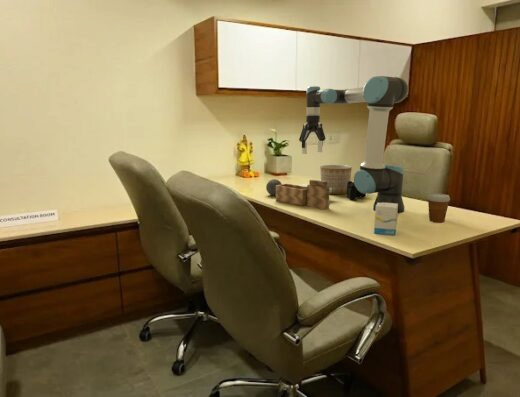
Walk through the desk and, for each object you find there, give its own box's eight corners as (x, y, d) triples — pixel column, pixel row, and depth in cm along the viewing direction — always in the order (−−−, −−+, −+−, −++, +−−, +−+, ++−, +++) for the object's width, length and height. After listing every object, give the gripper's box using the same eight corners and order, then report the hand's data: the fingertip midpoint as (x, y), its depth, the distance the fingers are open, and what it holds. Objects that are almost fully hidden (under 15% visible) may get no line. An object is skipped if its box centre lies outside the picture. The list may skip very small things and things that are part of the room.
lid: (331, 192, 227) (331, 188, 226) (319, 194, 220) (319, 190, 219) (304, 187, 242) (304, 183, 242) (292, 189, 235) (292, 185, 234)
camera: (367, 200, 224) (368, 183, 222) (348, 200, 226) (348, 183, 223) (363, 196, 238) (364, 179, 236) (345, 195, 239) (346, 179, 237)
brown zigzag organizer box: (332, 207, 208) (333, 186, 205) (321, 210, 202) (322, 188, 200) (286, 198, 232) (286, 179, 230) (275, 200, 226) (275, 181, 224)
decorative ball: (264, 196, 239) (264, 180, 237) (268, 193, 248) (268, 177, 246) (280, 197, 236) (280, 180, 234) (284, 194, 245) (284, 178, 243)
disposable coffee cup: (421, 221, 180) (423, 195, 177) (430, 217, 186) (432, 192, 184) (443, 225, 173) (445, 198, 171) (451, 221, 180) (454, 195, 177)
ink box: (395, 235, 159) (397, 207, 156) (373, 233, 162) (375, 205, 159) (396, 230, 166) (398, 203, 164) (375, 228, 169) (377, 201, 167)
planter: (317, 194, 244) (317, 168, 240) (322, 189, 262) (323, 164, 258) (348, 196, 238) (349, 169, 234) (352, 190, 255) (353, 165, 252)
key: (327, 186, 204) (327, 181, 204) (324, 186, 203) (324, 182, 202) (312, 184, 211) (312, 179, 211) (309, 184, 210) (309, 180, 209)
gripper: (321, 115, 233) (321, 151, 237) (292, 115, 217) (292, 153, 221) (332, 114, 227) (331, 151, 232) (303, 115, 211) (302, 154, 215)
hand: (312, 153), depth 226 cm, fingers open, 13 cm apart
